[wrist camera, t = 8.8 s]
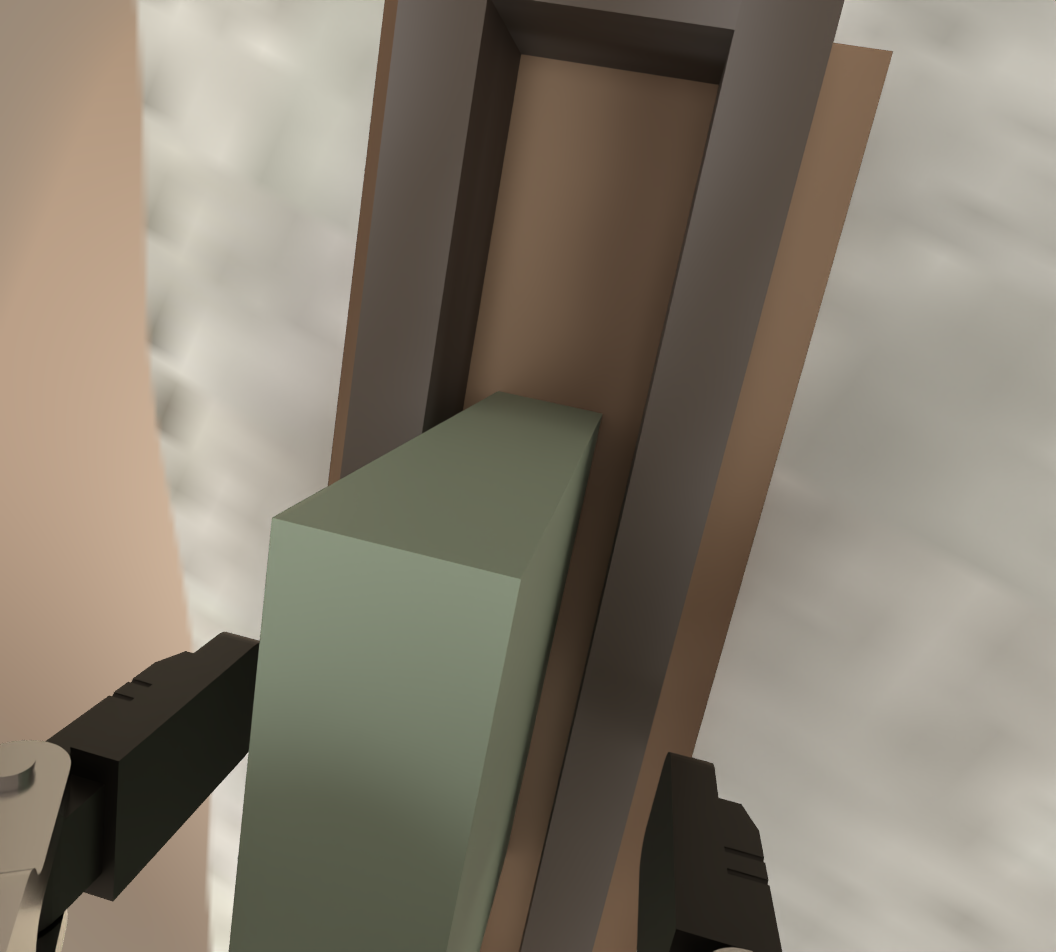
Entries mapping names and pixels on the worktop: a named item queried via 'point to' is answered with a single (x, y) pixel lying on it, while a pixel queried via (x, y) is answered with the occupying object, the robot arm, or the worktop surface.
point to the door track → (606, 347)
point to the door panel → (406, 683)
